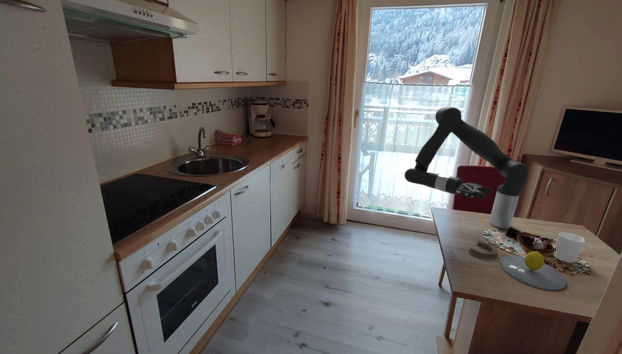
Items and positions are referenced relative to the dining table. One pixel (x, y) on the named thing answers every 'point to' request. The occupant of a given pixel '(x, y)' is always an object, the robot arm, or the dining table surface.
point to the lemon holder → (484, 254)
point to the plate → (532, 273)
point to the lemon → (534, 260)
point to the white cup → (568, 247)
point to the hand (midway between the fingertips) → (487, 194)
